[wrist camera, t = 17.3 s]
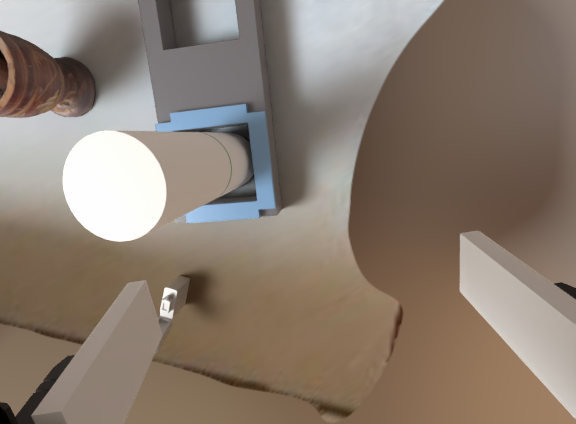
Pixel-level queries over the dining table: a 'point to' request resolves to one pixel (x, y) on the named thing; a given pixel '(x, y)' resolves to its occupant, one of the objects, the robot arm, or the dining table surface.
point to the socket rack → (216, 99)
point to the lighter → (172, 304)
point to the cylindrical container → (150, 177)
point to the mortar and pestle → (41, 81)
